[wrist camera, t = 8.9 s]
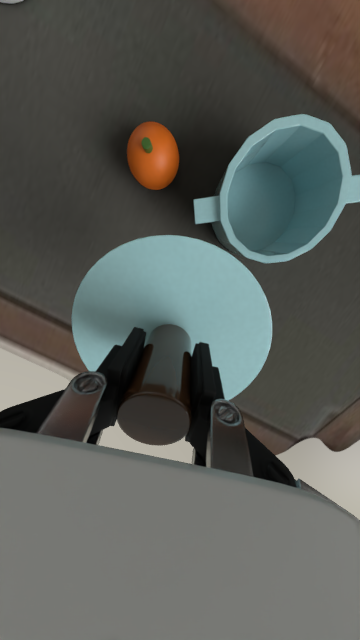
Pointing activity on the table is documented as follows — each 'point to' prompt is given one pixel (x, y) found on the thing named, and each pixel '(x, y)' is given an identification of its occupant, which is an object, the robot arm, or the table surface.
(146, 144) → the orange
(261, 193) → the pot
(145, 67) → the table surface
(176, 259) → the pot lid
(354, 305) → the table surface
